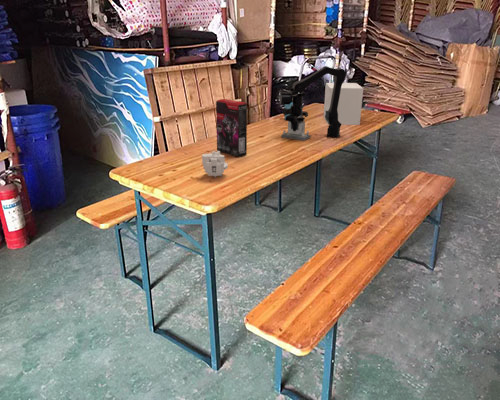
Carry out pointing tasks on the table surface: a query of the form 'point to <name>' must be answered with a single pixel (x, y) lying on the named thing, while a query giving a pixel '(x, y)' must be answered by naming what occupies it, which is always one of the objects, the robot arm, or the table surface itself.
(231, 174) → the table surface
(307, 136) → the pin tray
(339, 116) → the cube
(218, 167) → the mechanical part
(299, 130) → the block
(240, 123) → the graphics card box
